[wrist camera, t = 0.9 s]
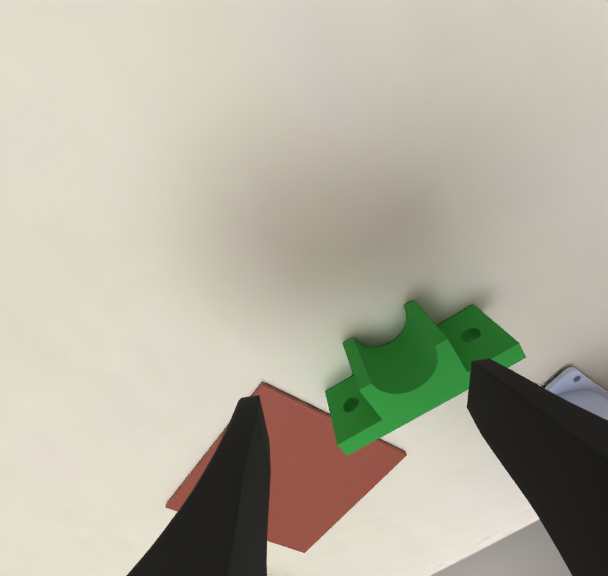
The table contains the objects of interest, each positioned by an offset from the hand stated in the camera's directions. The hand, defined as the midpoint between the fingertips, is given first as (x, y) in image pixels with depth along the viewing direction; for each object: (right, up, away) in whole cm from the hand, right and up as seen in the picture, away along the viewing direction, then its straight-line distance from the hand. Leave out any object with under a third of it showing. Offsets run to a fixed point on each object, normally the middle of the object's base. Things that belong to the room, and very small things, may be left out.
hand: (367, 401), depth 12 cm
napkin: (-3, -11, +15) cm, 19 cm away
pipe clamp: (+4, 0, +11) cm, 12 cm away
